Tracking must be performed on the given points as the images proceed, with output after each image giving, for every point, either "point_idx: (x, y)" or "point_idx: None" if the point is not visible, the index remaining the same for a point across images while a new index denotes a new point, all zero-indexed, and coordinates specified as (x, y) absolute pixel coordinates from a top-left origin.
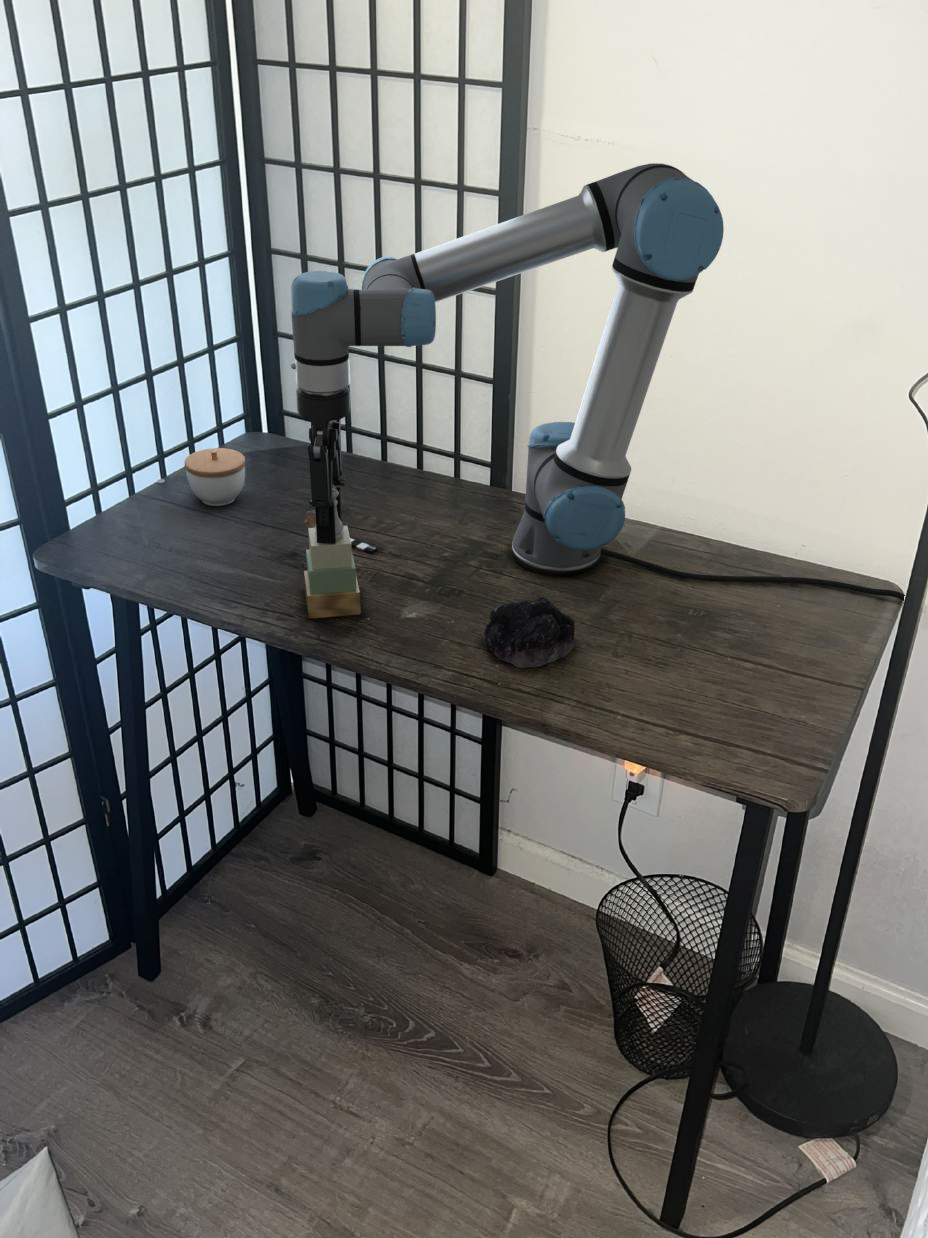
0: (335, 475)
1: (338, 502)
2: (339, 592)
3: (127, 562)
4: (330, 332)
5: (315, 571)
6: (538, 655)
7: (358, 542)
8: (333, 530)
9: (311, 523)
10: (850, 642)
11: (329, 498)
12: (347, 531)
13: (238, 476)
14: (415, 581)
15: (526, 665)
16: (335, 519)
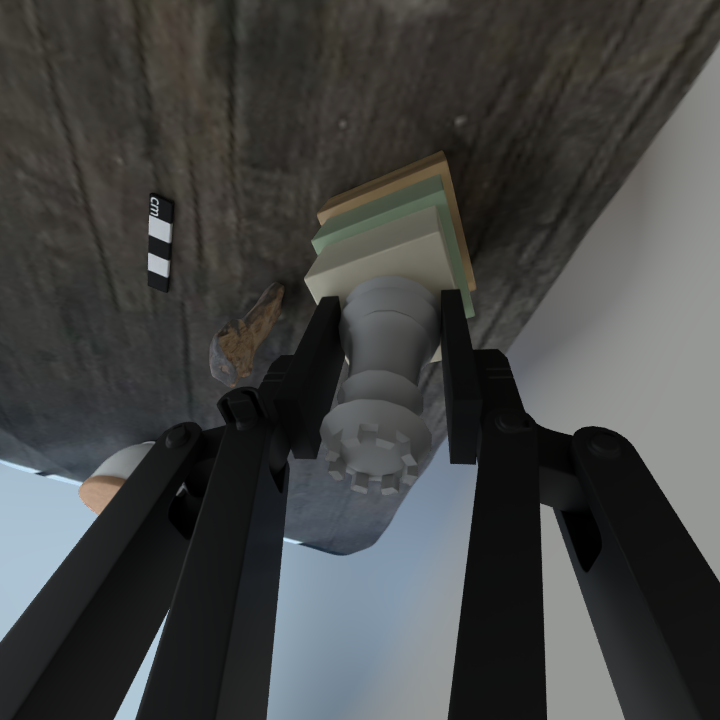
0: (266, 474)
1: (315, 359)
2: (452, 219)
3: (350, 501)
4: None
5: (471, 301)
6: None
7: (154, 242)
8: (465, 320)
9: (247, 361)
10: None
11: (603, 472)
12: (347, 267)
13: (130, 471)
14: (240, 25)
15: None
16: (405, 334)
